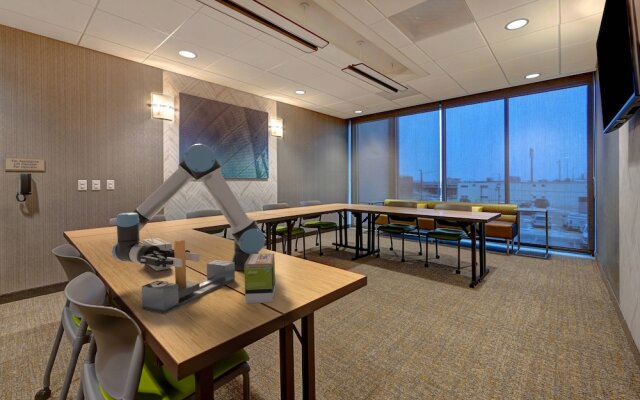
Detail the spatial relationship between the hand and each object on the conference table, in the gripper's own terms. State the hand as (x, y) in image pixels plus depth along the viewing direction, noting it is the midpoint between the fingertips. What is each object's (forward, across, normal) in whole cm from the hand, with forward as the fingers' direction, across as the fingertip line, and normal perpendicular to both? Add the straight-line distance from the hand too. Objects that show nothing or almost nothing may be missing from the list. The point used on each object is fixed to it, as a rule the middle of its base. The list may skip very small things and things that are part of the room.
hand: (190, 260), depth 107 cm
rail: (-5, -6, -15) cm, 17 cm away
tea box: (+21, -14, -15) cm, 29 cm away
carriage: (-5, 0, -13) cm, 14 cm away
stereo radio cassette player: (-50, -26, -15) cm, 59 cm away
